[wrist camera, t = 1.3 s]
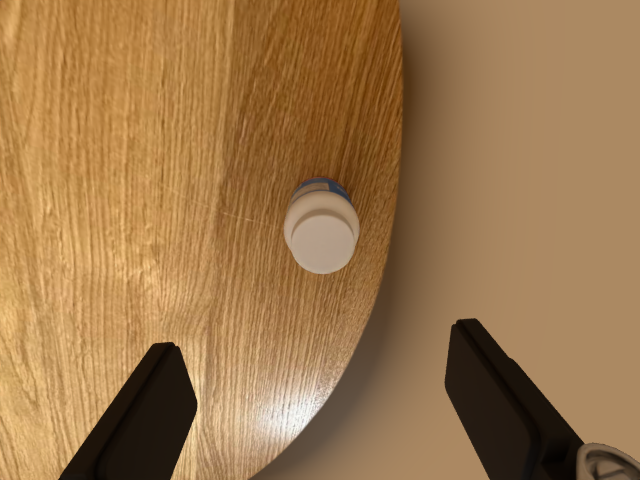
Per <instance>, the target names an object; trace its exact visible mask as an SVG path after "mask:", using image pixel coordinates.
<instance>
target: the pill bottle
mask: <svg viewBox="0 0 640 480" xmlns="http://www.w3.org/2000/svg"><path fill="white" fill-rule="evenodd" d="M359 231H360V226H359V220H358V217H357V214H356V212H355V209H354V207H353V205H352V203H351V201H350V199H349V197H348V194H347V192H346V191H345V189H344V188H343V187H342V186H341V185H340V184H339V183H338V182H336V181H335V180H333V179H330V178H327V177H313V178H310V179H307V180H305V181H304V182H302V183H301V184H300V185H299V186H298V187H297V188H296V189H295V191H294V192H293V194H292V197H291V200H290V203H289V206H288V210H287V214H286V217H285V222H284V236H285V240H286V243H287V245H288V247H289V248H290V250H291V251H292V254H293V257H294V259H295V260H296V261H297V263H298V264H299V265H300V266H301V267H303V268H304V269H306V270H307V271H310V272H313V273H317V274H328V273H333V272H335V271H338V270H339V269H341V268H343V267H344V266H345V265H346V264H347V263H348V262H349V260H350V259H351V257H352V255H353V253H354V249H355V245H356V243H357V240H358V237H359Z"/></svg>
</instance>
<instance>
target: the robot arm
mask: <svg viewBox="0 0 640 480" xmlns="http://www.w3.org/2000/svg"><path fill="white" fill-rule="evenodd" d="M445 388H446V391H447V394H448V396H449V398H450V400H451V402H452V404H453V406H454V408H455V410H456V412H457V414H458V416H459V418H460V420H461V422H462V424H463V426H464V428H465V430H466V432H467V435H468V436H469V439H470V440H471V443H472V445H473V447H474V449H475V451H476V453H477V455H478V457H479V459H480V461H481V463H482V465H483V467H484V469H485V471H486V473H487V474H488V477H489V479H490V480H640V463H639V462H638V461H636V460H635V459H633V458H632V457H631V456H629V455H627V454H625V453H624V452H622V451H620V450H618V449H616V448H613V447H610V446H607V445H605V444H599V443H588V444H584V442H583V441H582V440H581V439H580V438H579V436H578V435H577V434H576V433H575V432H574V430H573V429H572V428H571V427H570V426H569V424H568V423H567V422H566V421H565V420H564V419H563V417H561V415H560V414H559V413H558V411H557V410H556V409H555V408H554V407H553V405H552V404H551V403H550V402H549V401H548V400H547V398H546V397H545V396H544V395H543V394H542V392H541V391H540V390H539V389H538V388H537V387H536V385H535V384H534V383H533V382H532V380H530V378H529V377H528V376H527V375H526V373H525V372H524V371H523V370H522V369H521V367H520V366H519V365H518V364H517V363H516V362H515V361H514V360H513V359H511V358H509V357H508V356H507V355H506V353H505V352H504V351H503V350H502V349H501V347H500V346H499V345H498V344H497V342H496V341H495V340H494V339H493V338H492V337H491V335H490V334H489V333H488V332H487V330H486V329H485V328H484V327H483V326H482V324H481V323H480V322H479V321H478V320H477V319H475V318H474V319H460V320H457V322H456V324H453V325H452V327H451V335H450V342H449V350H448V358H447V367H446V375H445ZM196 412H197V399H196V396H195V393H194V390H193V387H192V384H191V381H190V378H189V375H188V372H187V369H186V365H185V362H184V359H183V356H182V353H181V350H180V348H179V347H178V346H175V344H174V343H173V342H165V343H155V344H153V345H152V346H151V347H150V348H149V350H148V351H147V353H146V354H145V356H144V357H143V358H142V360H141V361H140V363H139V364H138V366H137V367H136V368H135V370H134V371H133V373H132V374H131V376H130V377H129V378H128V380H127V381H126V383H125V384H124V386H123V387H122V388H121V390H120V391H119V393H118V394H117V396H116V397H115V398H114V400H113V401H112V403H111V404H110V406H109V407H108V408H107V410H106V411H105V413H104V414H103V416H102V417H101V418H100V420H99V421H98V423H97V424H96V426H95V427H94V428H93V430H92V431H91V433H90V434H89V436H88V437H87V438H86V440H85V441H84V443H83V444H82V446H81V447H80V448H79V450H78V451H77V453H76V454H75V456H74V457H73V458H72V460H71V461H70V463H69V464H68V466H67V467H66V468H65V470H64V471H63V473H62V474H61V475H60V478H59V479H58V480H170V479H171V476H172V474H173V471H174V469H175V466H176V463H177V461H178V458H179V456H180V453H181V451H182V448H183V445H184V443H185V440H186V438H187V435H188V433H189V430H190V428H191V425H192V422H193V420H194V417H195V415H196Z"/></svg>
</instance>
